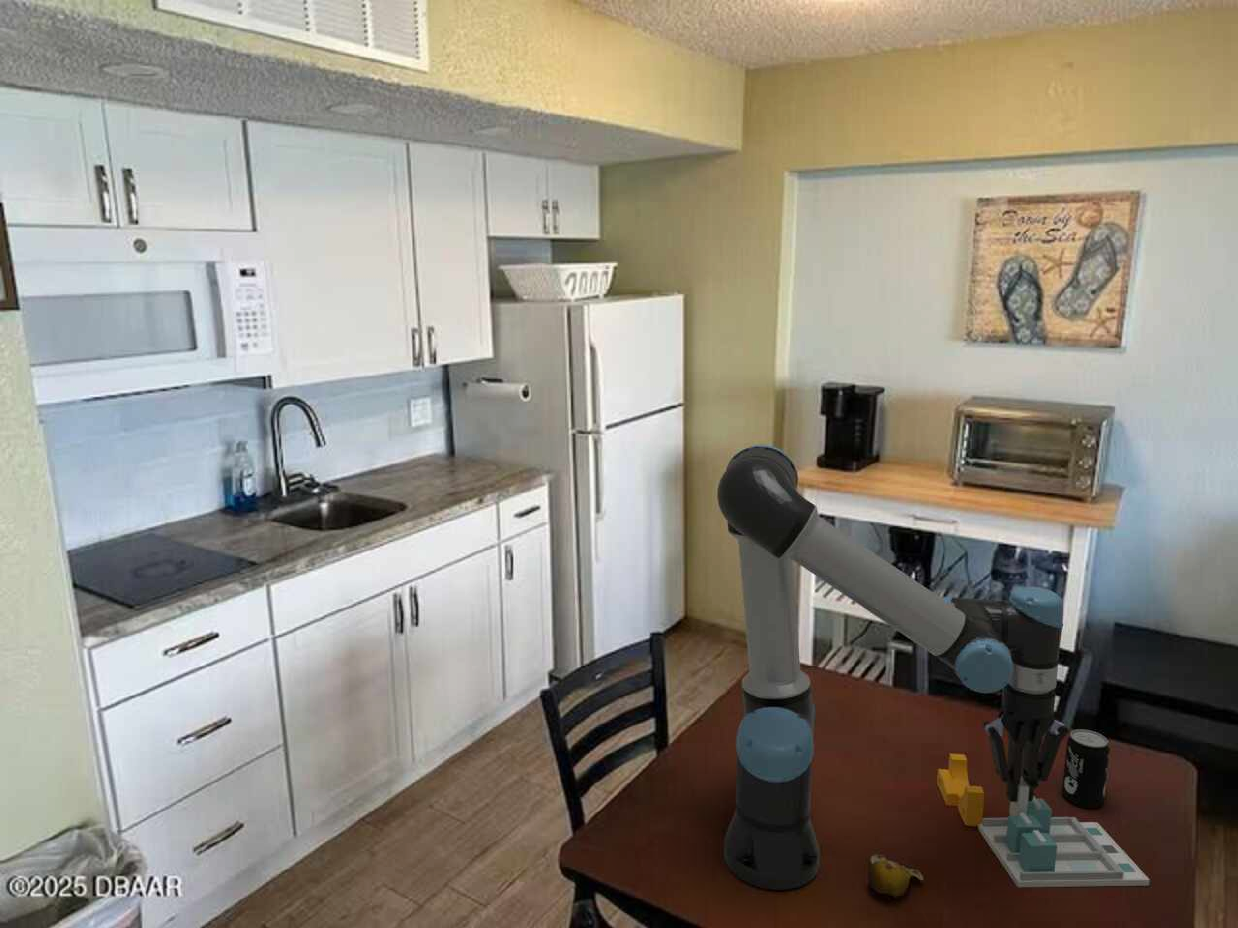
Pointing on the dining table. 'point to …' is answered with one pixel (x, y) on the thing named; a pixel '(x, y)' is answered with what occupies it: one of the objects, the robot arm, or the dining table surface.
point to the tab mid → (1020, 829)
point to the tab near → (1037, 852)
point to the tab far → (1040, 813)
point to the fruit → (890, 876)
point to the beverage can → (1085, 768)
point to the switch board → (1068, 856)
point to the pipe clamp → (961, 790)
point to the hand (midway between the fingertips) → (1017, 817)
